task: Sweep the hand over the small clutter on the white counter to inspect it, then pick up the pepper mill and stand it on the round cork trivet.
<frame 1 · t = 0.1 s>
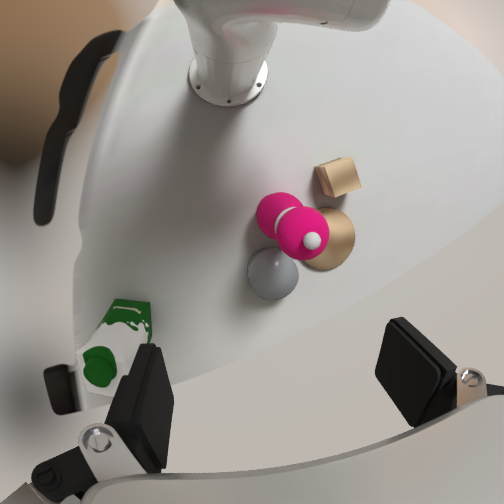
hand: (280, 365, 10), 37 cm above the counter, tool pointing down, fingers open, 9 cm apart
oak block: (331, 176, 45), on the counter
pepper mill: (275, 211, 46), on the counter
milk carton: (134, 316, 49), on the counter
grey rounded dome: (270, 269, 49), on the counter
cork trivet: (325, 238, 48), on the counter
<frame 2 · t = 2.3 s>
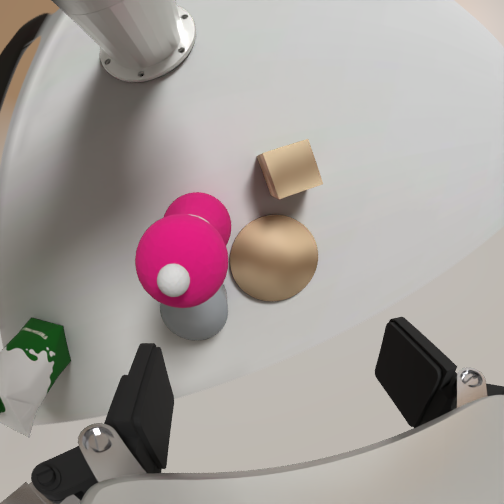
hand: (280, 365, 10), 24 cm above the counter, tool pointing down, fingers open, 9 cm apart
oak block: (283, 169, 32), on the counter
pepper mill: (199, 220, 33), on the counter
milk carton: (51, 339, 35), on the counter
grey rounded dome: (196, 297, 35), on the counter
cork trivet: (274, 258, 35), on the counter
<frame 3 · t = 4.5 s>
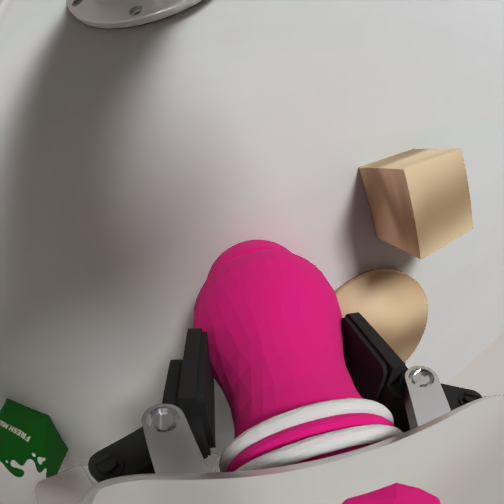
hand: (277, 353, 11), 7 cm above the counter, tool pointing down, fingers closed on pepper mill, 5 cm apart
oak block: (396, 192, 17), on the counter
pepper mill: (255, 285, 18), on the counter, touching gripper
milk carton: (37, 424, 20), on the counter
grey rounded dome: (246, 397, 21), on the counter
cork trivet: (369, 333, 20), on the counter
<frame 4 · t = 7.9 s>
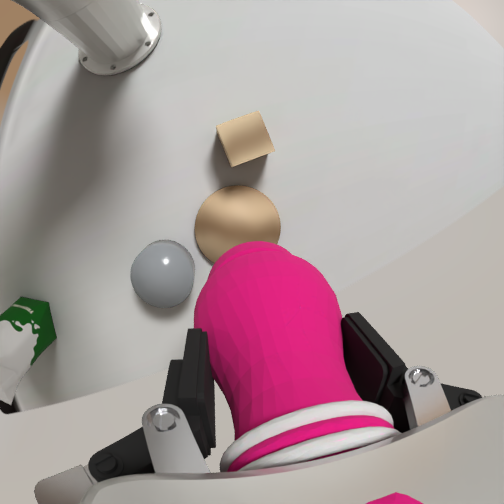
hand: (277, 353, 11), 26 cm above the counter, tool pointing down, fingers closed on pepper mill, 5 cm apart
oak block: (242, 142, 33), on the counter
pepper mill: (255, 286, 18), point 19 cm above the counter, touching gripper
milk carton: (38, 317, 37), on the counter
grey rounded dome: (166, 268, 37), on the counter
cork trivet: (237, 227, 36), on the counter
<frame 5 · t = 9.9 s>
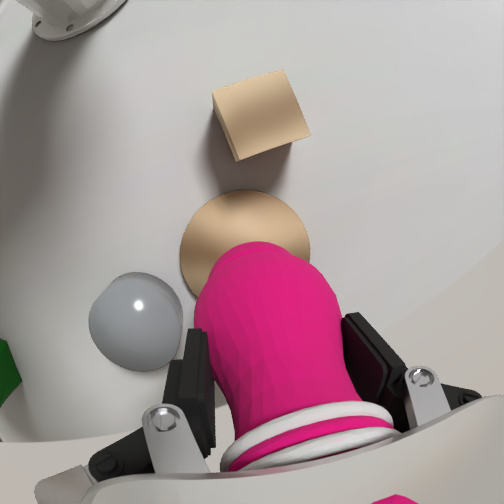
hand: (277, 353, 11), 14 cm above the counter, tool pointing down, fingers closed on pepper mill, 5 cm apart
oak block: (253, 124, 21), on the counter
pepper mill: (255, 287, 18), point 6 cm above the counter, touching gripper
milk carton: (0, 355, 24), on the counter
grey rounded dome: (141, 312, 24), on the counter
cork trivet: (245, 255, 24), on the counter
when the fingers open (9 cm above the counter, at t = 11.3 s): pepper mill drops 1 cm, resting on cork trivet.
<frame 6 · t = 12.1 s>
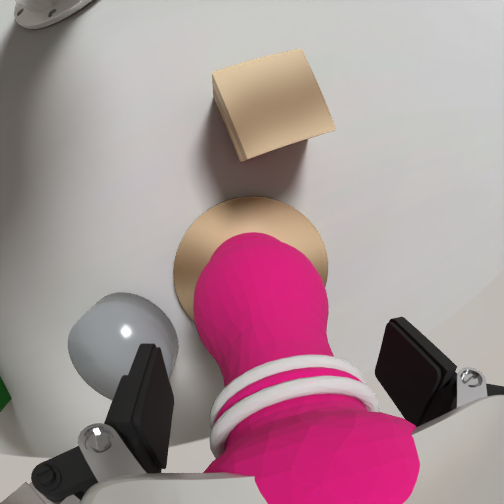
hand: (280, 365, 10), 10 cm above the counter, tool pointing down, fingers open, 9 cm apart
oak block: (261, 116, 17), on the counter
pepper mill: (251, 275, 19), point 1 cm above the counter, touching cork trivet
grey rounded dome: (131, 337, 20), on the counter
cork trivet: (251, 273, 20), on the counter
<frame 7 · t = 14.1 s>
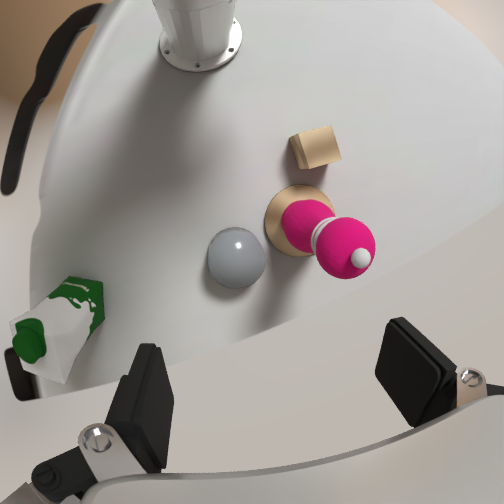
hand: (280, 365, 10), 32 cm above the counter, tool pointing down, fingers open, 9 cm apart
oak block: (309, 149, 39), on the counter
pepper mill: (301, 220, 41), point 1 cm above the counter, touching cork trivet
milk carton: (86, 297, 42), on the counter
grey rounded dome: (234, 253, 42), on the counter
cork trivet: (300, 220, 42), on the counter
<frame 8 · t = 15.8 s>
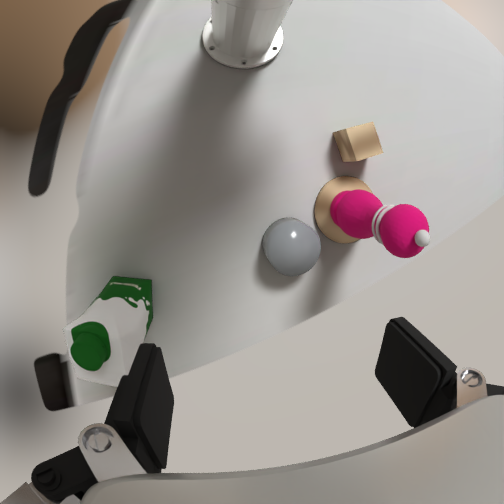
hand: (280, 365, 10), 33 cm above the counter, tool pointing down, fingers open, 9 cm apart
oak block: (350, 143, 41), on the counter
pepper mill: (346, 209, 43), point 1 cm above the counter, touching cork trivet
milk carton: (133, 296, 44), on the counter
grey rounded dome: (287, 242, 44), on the counter
cork trivet: (345, 209, 43), on the counter
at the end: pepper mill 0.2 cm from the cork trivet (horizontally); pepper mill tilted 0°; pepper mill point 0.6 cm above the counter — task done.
